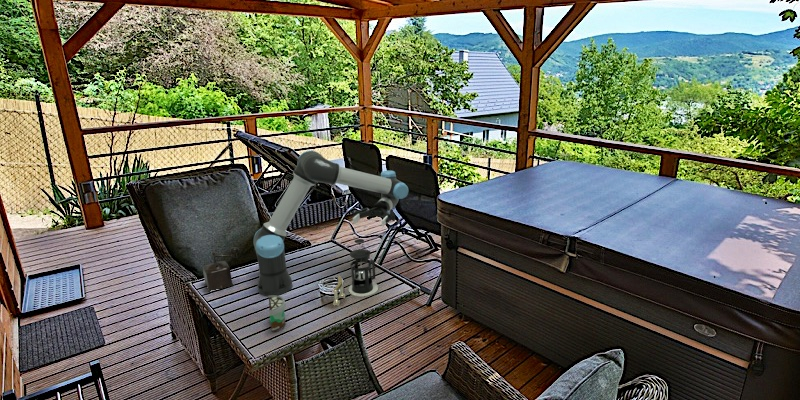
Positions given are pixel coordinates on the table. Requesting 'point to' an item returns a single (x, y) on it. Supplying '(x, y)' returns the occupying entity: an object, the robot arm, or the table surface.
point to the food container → (276, 312)
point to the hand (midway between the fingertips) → (367, 222)
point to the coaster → (374, 290)
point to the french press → (362, 270)
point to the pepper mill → (219, 272)
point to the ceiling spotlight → (341, 295)
